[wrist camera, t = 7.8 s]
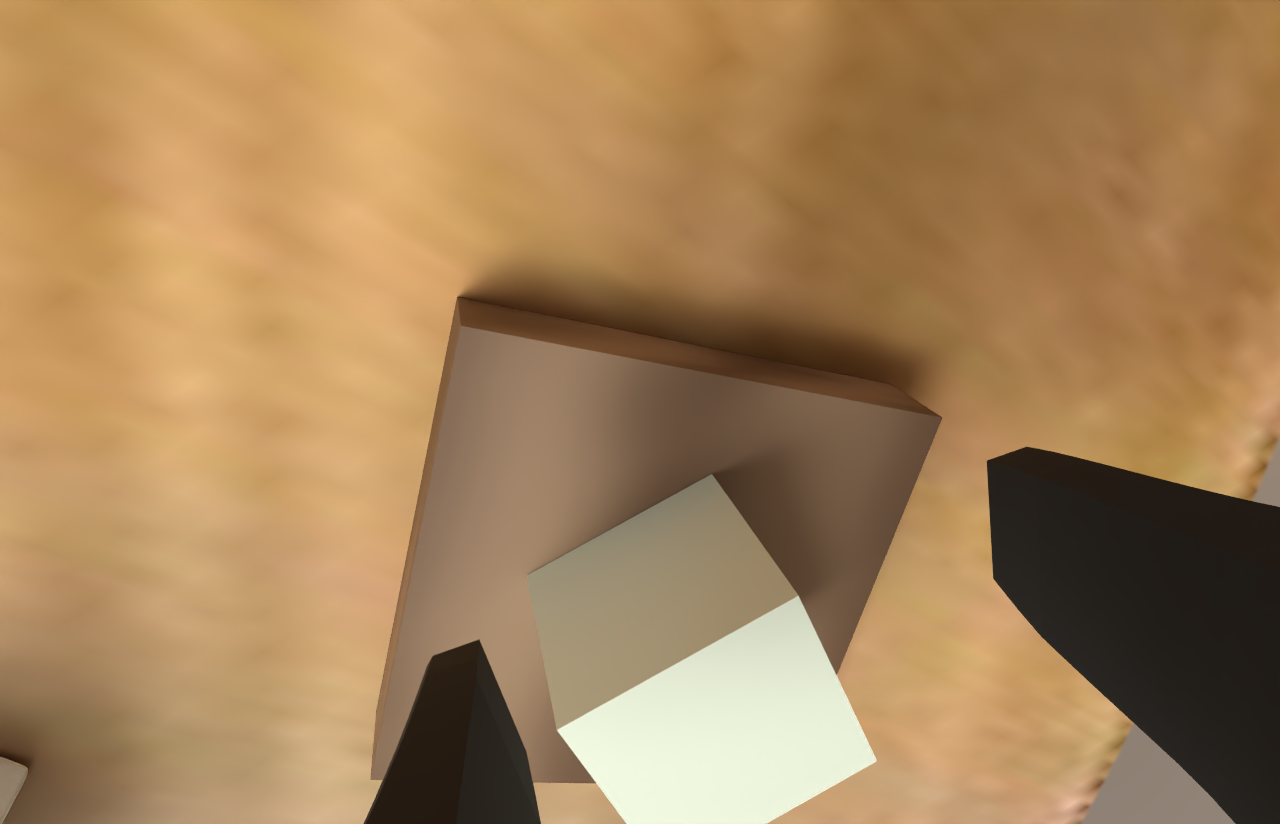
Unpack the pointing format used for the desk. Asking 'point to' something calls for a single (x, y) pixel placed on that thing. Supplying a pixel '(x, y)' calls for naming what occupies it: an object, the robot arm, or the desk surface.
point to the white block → (691, 669)
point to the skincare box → (10, 784)
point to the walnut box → (628, 488)
